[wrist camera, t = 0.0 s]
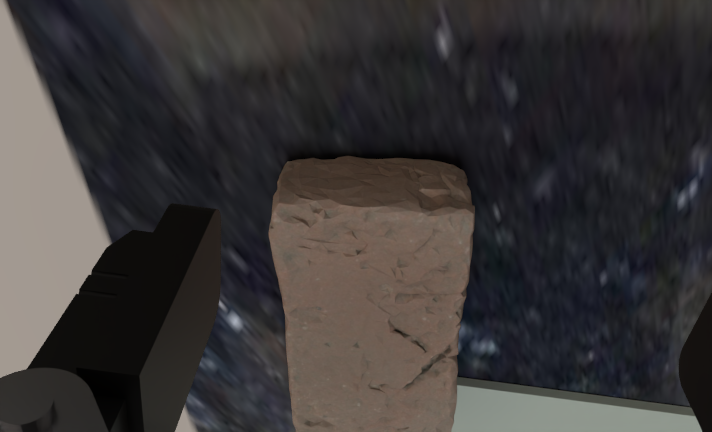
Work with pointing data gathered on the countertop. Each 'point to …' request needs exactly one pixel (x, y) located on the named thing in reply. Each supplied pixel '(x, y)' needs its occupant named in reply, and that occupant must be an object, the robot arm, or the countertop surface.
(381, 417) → the brick
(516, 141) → the countertop surface
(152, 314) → the robot arm
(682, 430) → the flat grey rectangular slab
